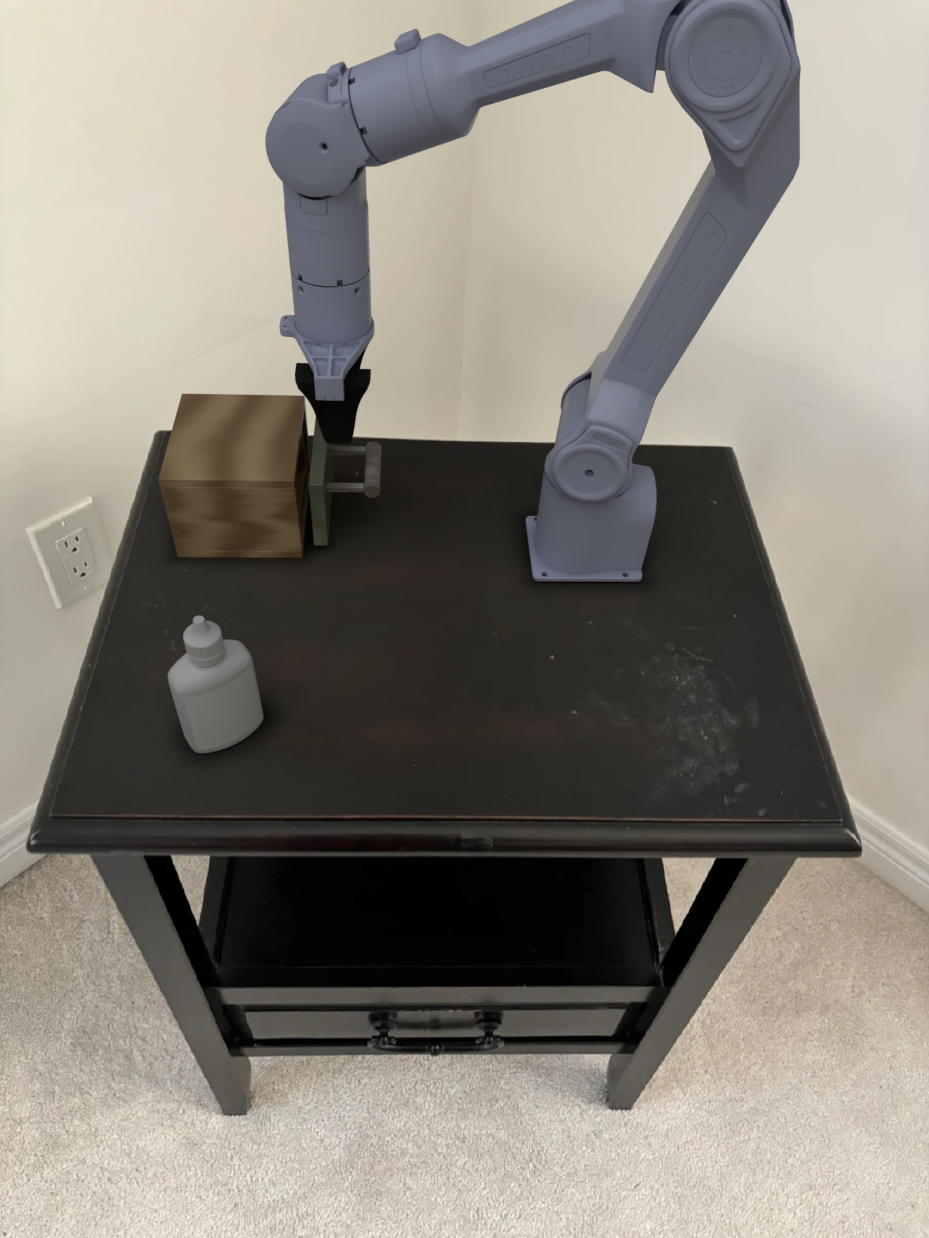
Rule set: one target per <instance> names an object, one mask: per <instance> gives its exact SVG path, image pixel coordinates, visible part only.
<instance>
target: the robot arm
mask: <svg viewBox="0 0 929 1238" xmlns="http://www.w3.org/2000/svg"><path fill="white" fill-rule="evenodd" d="M393 46H394V49H393V50H391V51H389V52H386V53H384V54H383V53H382V54H381V55H379V56H376V57H373V58H371V59H368V60H367V61H363V62H361V63H357V64H356V65H353V66H351V67H348V66H347V64H346V62H345V61H339V62H337V63H335V64H332V65H331V66H329V68H328V69H327V70H326V72H325V73H322V72H321V73H317V74H313V75H310V76H309V77H306V78H305V79H304V80H303V81H301V83H300V84H299V85H298V86H297V87H296V88H295V89H294V90H293V91H292V92H291V94H290V95H289V96H288V97H287V98H286V99H285V100H284V102H282V104H281V105H280V106H279V107H278V109H276V111H275V112H274V114H273V115H272V117H271V119H270V120H269V123H268V126H267V128H266V131H265V137H264V138H265V139H264V141H265V142H264V144H265V145H264V146H265V152H266V156H267V160H268V162H269V165H270V166H271V168H272V170H273V172H274V173H275V175H276V176H277V177H278V179H279V180H280V181H281V182H282V191H283V201H284V203H283V209H284V219H285V220H284V221H285V230H286V231H285V232H286V240H287V241H286V242H287V250H288V251H287V252H288V261H289V272H290V282H291V283H290V284H291V291H292V292H291V293H292V303H293V313H294V314H284V315H283V316H281V318H280V321H279V325H278V327H279V334H280V336H282V337H283V338H284V337H285V338H292V339H295V341H296V343H297V345H298V346H299V349H300V351H301V352H302V355H303V356H304V358H305V360H306V362H296V363H295V370H294V381H295V384H296V387H297V389H298V390H299V392H300V393H301V394H302V395H303V396H305V399H306V400H307V401H308V403H309V405H310V406H311V408H312V410H313V412H314V416H315V418H317V421H318V424H319V427H320V430H321V433H322V436H323V438H324V440H325V442H326V443H328V444H333V445H335V444H337V445H339V444H340V445H341V444H342V445H350V444H351V443H352V441H353V438H354V432H355V427H356V421H357V415H358V409H359V407H360V403H361V402H362V399H363V397H364V395H365V394H366V393H367V391H368V389H369V386H370V384H371V378H372V377H371V376H372V368H361V367H362V362H363V358H364V356H365V353H366V351H367V348H368V347H369V345H370V343H371V341H372V340H373V338H374V336H375V320H374V317H373V316H372V290H371V289H372V287H371V284H372V283H371V282H372V281H371V259H370V257H371V256H370V255H371V253H370V225H369V224H370V221H369V217H370V216H369V203H368V197H367V196H368V195H367V193H368V192H367V168H368V167H369V168H376V167H381V166H384V165H387V164H389V163H392V162H395V161H398V160H401V159H404V158H406V157H409V156H413V155H415V154H418V153H422V152H424V151H427V150H429V149H433V148H436V147H439V146H441V145H444V144H447V143H451V142H453V141H456V140H458V139H461V138H465V137H467V136H468V135H469V134H470V133H471V131H472V129H473V127H474V126H475V122H476V121H477V118H478V115H479V113H480V110H481V108H483V107H486V106H490V105H494V104H496V103H501V102H504V101H506V100H510V99H514V98H517V97H520V96H524V95H527V94H530V93H534V92H537V91H540V90H544V89H548V88H550V87H554V86H557V85H561V84H563V83H567V82H571V81H573V80H577V79H581V78H584V77H587V76H591V75H593V74H597V73H600V72H609V73H611V74H613V75H615V76H617V77H619V78H620V79H622V80H624V81H626V82H628V83H629V84H631V85H633V86H635V87H637V88H638V89H640V90H642V91H644V92H646V93H649V94H654V91H655V83H656V75H657V71H660V72H664V76H665V79H666V83H667V86H668V88H669V90H670V92H671V94H672V95H673V97H674V99H675V100H676V101H677V103H678V104H679V106H680V107H681V108H682V109H683V111H684V112H685V113H686V114H687V115H688V116H689V117H690V119H691V120H692V121H693V122H694V123H695V124H696V125H697V126H698V128H699V129H700V130H702V131H701V133H702V135H703V139H704V141H705V145H706V149H707V151H708V154H709V157H710V160H709V161H708V164H707V166H706V167H705V169H704V171H703V173H702V175H701V177H700V178H699V180H698V182H697V184H696V186H695V188H694V189H693V192H692V193H691V194H690V196H689V198H688V200H687V202H686V204H685V205H684V207H683V209H682V211H681V213H680V215H679V217H678V218H677V220H676V222H675V224H674V226H673V228H672V229H671V231H670V233H669V234H668V236H667V238H666V240H665V242H664V244H663V245H662V247H661V249H660V251H659V253H658V255H657V257H656V258H655V260H654V262H653V264H652V265H651V268H650V270H649V271H648V273H647V275H646V277H645V279H644V280H643V282H642V284H641V286H640V287H639V289H638V291H637V293H636V295H635V297H634V299H633V300H632V302H631V304H630V306H629V308H628V309H627V311H626V313H625V315H624V317H623V318H622V320H621V322H620V324H619V326H618V328H617V330H616V331H615V333H614V335H613V337H612V338H611V340H610V342H609V344H608V346H607V348H606V349H605V350H604V351H601V352H598V353H597V355H596V356H595V358H594V360H593V362H592V363H591V365H590V366H589V367H588V368H587V370H585V371H584V372H583V373H582V374H580V375H578V376H577V377H575V378H573V380H572V381H570V383H568V385H567V386H566V387H565V388H564V390H563V393H562V396H561V399H560V414H559V420H558V425H557V430H556V435H555V441H554V445H553V447H552V449H551V450H550V451H549V452H548V454H547V455H546V457H545V459H544V467H543V474H542V480H541V487H540V495H539V502H538V509H537V515H528V516H526V518H525V530H526V537H527V546H528V553H529V562H530V570H531V576H532V579H533V580H534V581H536V582H574V583H575V582H577V583H578V582H582V583H583V582H589V583H591V582H593V583H594V582H596V583H598V582H599V583H600V582H601V583H602V582H603V583H604V582H605V583H606V582H607V583H608V582H609V583H610V582H611V583H614V582H615V583H616V582H618V583H622V582H623V583H638V582H641V581H642V579H643V572H642V568H643V564H644V561H645V558H646V554H647V549H648V546H649V542H650V538H651V535H652V532H653V528H654V524H655V519H656V514H657V501H658V500H657V499H658V498H657V496H658V495H657V483H656V478H655V474H654V473H655V472H654V471H653V469H652V468H651V467H650V466H647V465H641V464H637V463H633V457H634V454H635V452H636V450H637V449H638V447H639V445H640V444H641V442H642V440H643V437H644V434H645V431H646V429H647V426H648V423H649V420H650V417H651V414H652V411H653V408H654V405H655V402H656V399H657V398H658V396H659V394H660V392H661V390H662V389H663V388H664V386H665V385H666V383H667V381H668V380H669V378H670V376H671V375H672V373H673V371H674V370H675V368H676V367H677V365H678V363H679V362H680V361H681V359H682V357H683V356H684V354H685V352H686V351H687V349H688V348H689V346H690V344H691V343H692V341H693V339H695V336H696V335H697V333H698V332H699V330H700V328H701V327H702V325H703V324H704V323H705V320H706V319H707V317H708V316H709V314H710V313H711V311H712V309H713V308H714V306H715V304H716V303H717V302H718V300H719V298H720V297H721V295H722V293H723V292H724V291H725V289H726V287H727V285H728V284H729V283H730V281H731V279H732V278H733V276H734V274H735V273H736V271H737V269H739V267H740V265H741V263H742V262H743V260H744V258H745V257H746V255H747V254H748V252H749V250H750V249H751V247H752V246H753V244H754V242H755V241H756V239H757V237H758V236H759V235H760V233H761V232H762V230H763V228H764V226H765V225H766V223H767V221H768V220H769V218H771V215H772V214H773V213H774V210H775V209H776V208H777V206H778V204H779V202H780V201H781V199H782V198H783V196H784V194H785V193H786V191H787V190H788V189H789V186H790V185H791V183H792V182H793V180H794V178H795V176H796V174H797V172H798V169H799V168H800V167H799V166H800V160H801V128H800V127H801V118H800V117H801V104H800V103H801V98H800V97H801V96H800V94H801V93H800V91H801V90H800V89H801V88H800V87H801V71H802V67H801V61H800V56H799V54H798V50H797V44H796V37H795V28H794V19H793V15H792V11H791V8H790V6H789V3H788V1H787V0H571V1H570V2H567V3H564V4H562V5H560V6H557V7H556V8H553V9H551V10H548V11H547V12H544V13H542V14H539V15H538V16H535V17H533V18H530V19H529V20H525V21H524V22H522V23H519V24H517V25H515V26H512V27H510V28H508V29H505V30H504V31H501V32H499V33H497V34H494V35H491V36H490V37H488V38H485V39H482V40H480V41H478V42H476V43H474V44H472V45H469V46H468V45H465V44H463V43H461V42H459V41H457V40H455V39H453V38H451V37H450V36H448V35H445V34H443V33H441V32H440V33H439V32H437V33H433V34H431V35H429V36H426V37H424V38H422V37H421V34H420V31H419V29H417V28H413V29H410V30H408V31H406V32H403V33H401V34H399V36H398V37H397V38H396V40H395V41H394V43H393Z"/></svg>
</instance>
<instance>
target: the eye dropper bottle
mask: <svg viewBox="0 0 929 1238" xmlns="http://www.w3.org/2000/svg"><path fill="white" fill-rule="evenodd" d="M182 639H183V644H184V648H185V651H186V653H184V654H183V655H182V656H181V657H180V658H178V659H177V660H176V662H175V663H174V664H173V665H172V667H170V668H169V670H168V672H167V682H168V685H169V689H170V694H171V697H172V700H173V703H174V707H175V710H176V714H177V716H178V717H177V718H178V720H179V723H180V726H181V730H182V734H183V736H184V738H185V740H186V742H187V743H188V746H189V747H190V748H191V749H192V751H194V752H195V753H197V754H208V753H209V754H210V753H214V752H218V751H222V750H226V749H227V748H230V747H233V746H234V745H236V744H239V743H241V742H242V741H243V740H245V739H246V738H248V737H249V736H250V735H252V734H253V733H254V732H255V731H256V730H257V729H258V728H259V727H260V726H261V724H262V723H263V720H264V710H263V705H262V700H261V695H260V690H259V684H258V680H257V679H258V678H257V674H256V669H255V665H254V660H253V657H252V654H251V653H250V651H249V650H248V648H247V647H246V646H245V644H244V643H242V641H240V640H236V639H224V637H223V633H222V629H221V627H220V626H219V625H218V624H217V623H215V622H213V621H210V620H206V619H205V617H204V616H203V615H196V616H194V617H193V619H192V623H191V624H190V625H188V626H187V627H186V628H185V630H184V632H183V635H182Z"/></svg>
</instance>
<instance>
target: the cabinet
mask: <svg viewBox="0 0 929 1238" xmlns="http://www.w3.org/2000/svg"><path fill="white" fill-rule="evenodd" d="M307 417H308V416H307V406H306V397H305V396H304V395H293V394H292V395H289V394H234V393H233V394H231V393H229V394H227V393H181V396H180V399H179V403H178V406H177V410H176V414H175V417H174V421H173V425H172V429H171V431H170V436H169V439H168V442H167V447H166V450H165V454H164V457H163V461H162V465H161V468H160V470H159V475H158V483H159V487H160V491H161V496H162V499H163V504H164V508H165V511H166V515H167V520H168V523H169V527H170V532H171V536H172V540H173V544H174V548H175V552H176V555H177V558H229V559H230V558H233V559H235V558H237V559H238V558H240V559H241V558H243V559H244V558H247V559H249V558H250V559H251V558H253V559H255V558H257V559H263V558H264V559H303V557H304V549H305V539H306V530H307V520H308V511H309V510H308V509H309V504H310V497H309V486H308V483H309V474H310V465H311V450H310V440H309V439H310V437H309V429H308V418H307ZM302 430H303V440H304V450H305V461H306V480H305V489H304V498H303V507H302V516H301V525H300V518H299V508H298V499H297V490H296V483H295V482H296V474H297V466H298V458H299V450H300V442H301V433H302Z"/></svg>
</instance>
